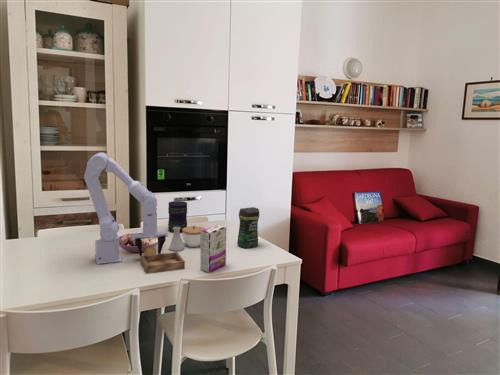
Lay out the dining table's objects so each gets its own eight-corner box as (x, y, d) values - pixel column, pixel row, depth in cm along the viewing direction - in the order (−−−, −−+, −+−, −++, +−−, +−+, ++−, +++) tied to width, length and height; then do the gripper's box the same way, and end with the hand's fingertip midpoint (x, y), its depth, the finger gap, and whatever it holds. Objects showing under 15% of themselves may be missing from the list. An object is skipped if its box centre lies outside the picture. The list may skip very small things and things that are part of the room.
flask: (181, 252, 175) (181, 230, 174) (165, 250, 177) (165, 229, 175) (186, 247, 182) (187, 226, 181) (172, 245, 184) (172, 225, 182)
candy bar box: (216, 262, 165) (217, 224, 162) (226, 264, 162) (227, 226, 160) (199, 270, 156) (199, 230, 153) (209, 273, 153) (210, 232, 150)
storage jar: (185, 233, 204) (185, 205, 201) (166, 232, 204) (166, 204, 202) (188, 228, 214) (188, 201, 211) (170, 227, 214) (170, 200, 211)
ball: (145, 261, 163) (145, 249, 162) (143, 257, 168) (142, 245, 167) (157, 259, 165) (157, 248, 164) (154, 255, 170) (154, 244, 169)
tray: (146, 273, 150) (146, 265, 150) (140, 262, 161) (140, 255, 160) (184, 268, 157) (184, 261, 156) (177, 258, 167) (177, 251, 167)
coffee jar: (244, 249, 182) (245, 210, 179) (234, 245, 188) (236, 207, 185) (260, 246, 188) (262, 208, 185) (251, 242, 194) (252, 205, 191)
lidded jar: (177, 246, 183) (177, 226, 182) (189, 240, 193) (189, 221, 191) (198, 250, 179) (198, 230, 178) (209, 243, 189) (209, 224, 187)
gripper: (133, 227, 157) (133, 259, 160) (169, 224, 163) (169, 255, 166) (130, 222, 164) (131, 254, 166) (165, 220, 170) (165, 250, 172)
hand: (150, 254), depth 166 cm, fingers open, 7 cm apart
